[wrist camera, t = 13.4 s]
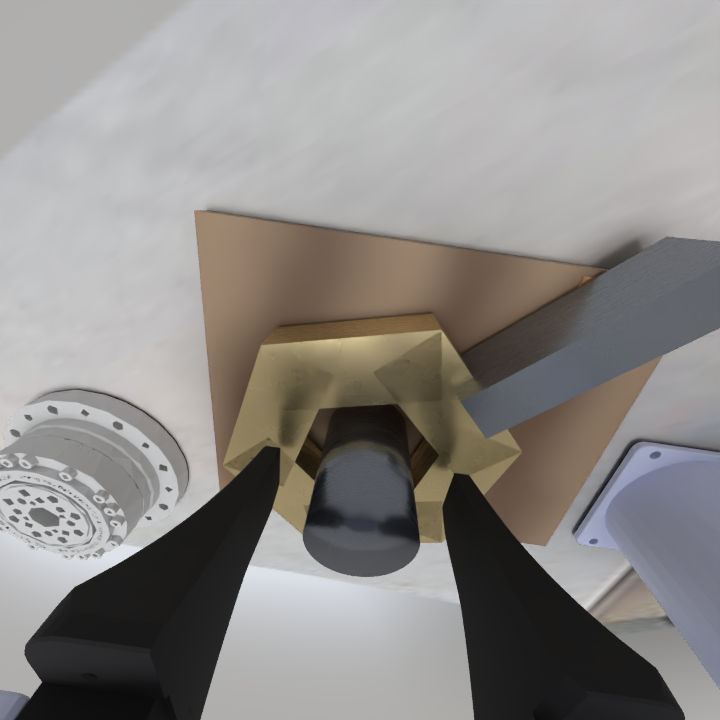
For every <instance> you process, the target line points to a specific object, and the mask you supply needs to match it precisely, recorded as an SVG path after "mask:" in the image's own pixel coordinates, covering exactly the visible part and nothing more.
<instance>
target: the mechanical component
mask: <svg viewBox="0 0 720 720" xmlns="http://www.w3.org/2000/svg"><path fill="white" fill-rule="evenodd" d="M4 445H5V449H3V450H1V451H0V531H1V532H6V531H7V532H8V533H9V534H11V535H13V536H14V537H16V538H18V539H20V540H22V541H23V542H25V543H27V546H28V547H29V548H30V549H32V550H37V549H38V548H41V549H45V550H48V551H51V552H53V553H59V554H61V556H62V557H63V558H65V559H71V558H72V557H73V556H74V555H77V558H79V559H80V560H87V559H88V558H89V556H90V555H91V556H92V557H93V558H100V557H101V556H102V555H103V554H104V552H109V551H111V550H113V549H114V548H116V547H118V546H120V544H121V543H122V542H123V541H124V539H125V538H126V537H127V536H128V535H129V533H130V532H131V531H132V530H133V528H140V527H144V526H148V525H152V524H155V523H157V522H158V521H160V520H162V519H164V518H165V517H167V516H169V514H170V513H171V511H172V510H173V508H174V507H175V506H176V504H177V503H178V501H179V500H180V498H181V497H182V495H183V494H184V492H185V490H186V486H187V483H188V469H187V465H186V461H185V458H184V456H183V454H182V453H181V451H180V449H179V447H178V446H177V444H176V442H175V440H174V439H173V438H172V437H171V436H170V435H169V434H168V433H167V432H166V431H165V430H164V429H163V428H162V427H161V426H160V425H159V424H158V423H157V422H156V421H154V420H153V419H152V418H150V417H149V416H148V415H146V414H145V413H144V412H142V411H140V410H138V409H136V408H135V407H133V406H131V405H129V404H127V403H126V402H123V401H120V400H118V399H115V398H112V397H110V396H107V395H104V394H98V393H93V392H87V391H82V390H70V391H61V392H53V393H50V394H48V395H45V396H43V397H40V398H38V399H37V400H35V401H33V402H31V403H29V404H27V405H26V406H24V407H22V408H21V409H20V410H19V411H17V412H16V413H15V414H14V415H13V416H11V417H10V419H9V421H8V423H7V425H6V426H5V432H4Z"/></svg>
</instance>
